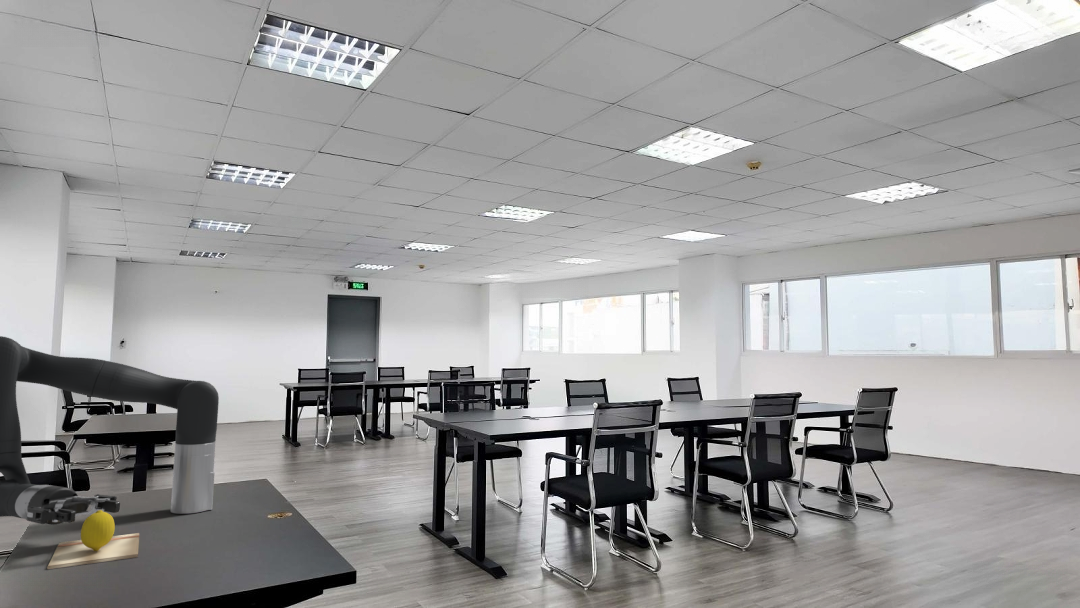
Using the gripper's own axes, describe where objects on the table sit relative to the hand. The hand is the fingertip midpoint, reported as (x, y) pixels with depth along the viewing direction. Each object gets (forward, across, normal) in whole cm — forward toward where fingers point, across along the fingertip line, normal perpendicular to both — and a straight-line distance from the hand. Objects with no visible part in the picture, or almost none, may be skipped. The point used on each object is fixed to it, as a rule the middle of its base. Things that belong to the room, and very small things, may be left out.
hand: (96, 511), depth 122 cm
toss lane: (0, +1, +8) cm, 8 cm away
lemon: (+1, 0, +8) cm, 8 cm away
